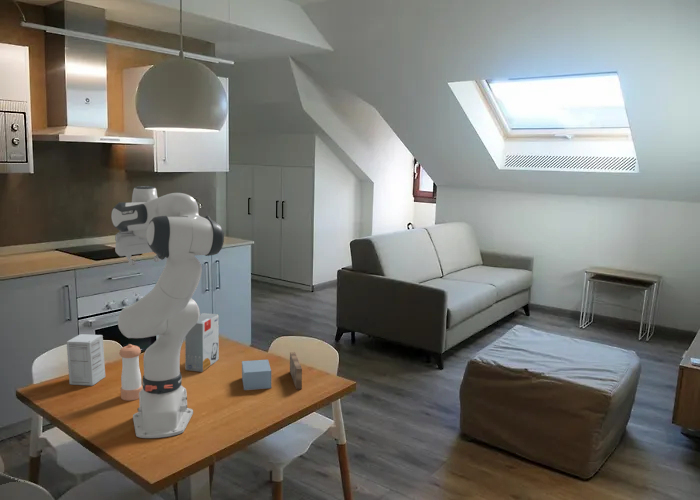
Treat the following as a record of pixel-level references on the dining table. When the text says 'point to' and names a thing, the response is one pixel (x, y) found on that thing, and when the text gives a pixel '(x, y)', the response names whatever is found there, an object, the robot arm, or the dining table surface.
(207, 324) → the hard drive box
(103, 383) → the dining table surface
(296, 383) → the board
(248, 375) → the slate block
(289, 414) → the dining table surface
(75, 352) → the supplement box
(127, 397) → the pepper shaker
